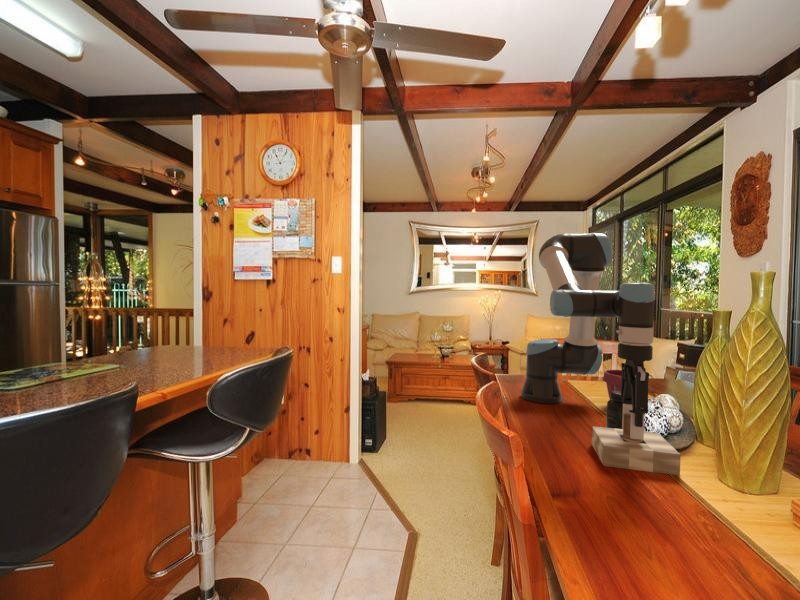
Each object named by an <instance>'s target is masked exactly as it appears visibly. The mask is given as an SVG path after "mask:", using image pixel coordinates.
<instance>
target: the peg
mask: <svg viewBox="0 0 800 600" xmlns="http://www.w3.org/2000/svg"><path fill="white" fill-rule="evenodd" d="M630 426H631V414H629V413H626V414H623V437H622V439H623V441H625V442H634V443H641V442H642V440H640V439H631V438H630Z"/></svg>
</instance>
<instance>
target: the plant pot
mask: <svg viewBox="0 0 800 600" xmlns="http://www.w3.org/2000/svg"><path fill="white" fill-rule="evenodd" d="M621 377H622V369H607V370H604V372H603V382H605V383H606V388H607V394H608V398H609V400H611V399H612V398H611V391H621Z"/></svg>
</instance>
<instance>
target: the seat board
mask: <svg viewBox="0 0 800 600" xmlns="http://www.w3.org/2000/svg"><path fill="white" fill-rule="evenodd" d="M622 437H623V429H615V428H606V426H605V427H603V426H591V446H592V447H593V449H594V451H595V453H596V454H597V456H598V459H599V460H600V462H601V464H602V466H604V467H608V468H609V467H610V468H615V469H616V468H618V469H624V470H625V469H626V470H633V471H642V472H649V473H657V474H664V475H674V476H679V475H681V453H680V452H679V451H678V450H677V449H675V447H674V446H672V445H671V444H670V443H669V442H668V441H667V440H666V439H665V438H664V437H663V436H662V435H661V434H660V433H659V432H652V431H644V440H642V442H641V443H634V442H625V441H623V439H622Z"/></svg>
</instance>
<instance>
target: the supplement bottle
mask: <svg viewBox="0 0 800 600" xmlns="http://www.w3.org/2000/svg"><path fill="white" fill-rule="evenodd" d="M620 395H621V391H611V398H612V399H611V400H610V399H609V400H608V401H607V402H606V420H605V421H606V422H605V423H606V425H605V428H615V429H623V428H622V419H623V404H624V403H623V402H622V399H621V397H620Z"/></svg>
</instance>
